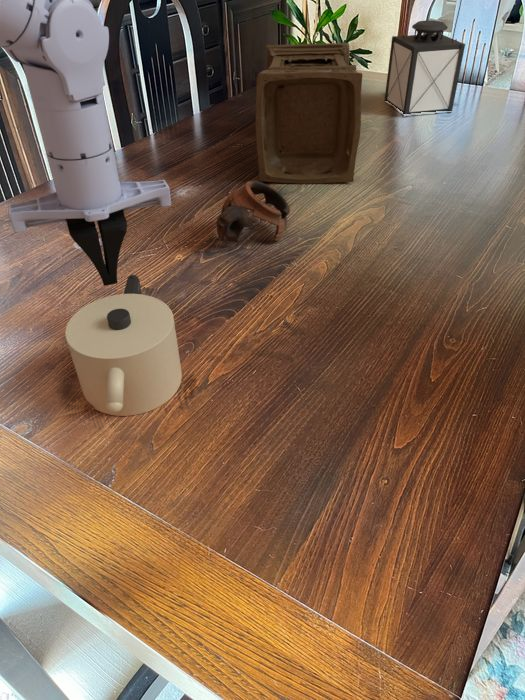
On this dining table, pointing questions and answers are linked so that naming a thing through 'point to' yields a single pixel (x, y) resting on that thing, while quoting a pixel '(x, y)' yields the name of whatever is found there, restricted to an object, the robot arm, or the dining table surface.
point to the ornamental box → (308, 114)
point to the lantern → (424, 69)
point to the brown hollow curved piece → (244, 200)
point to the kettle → (125, 352)
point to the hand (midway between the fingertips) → (109, 279)
